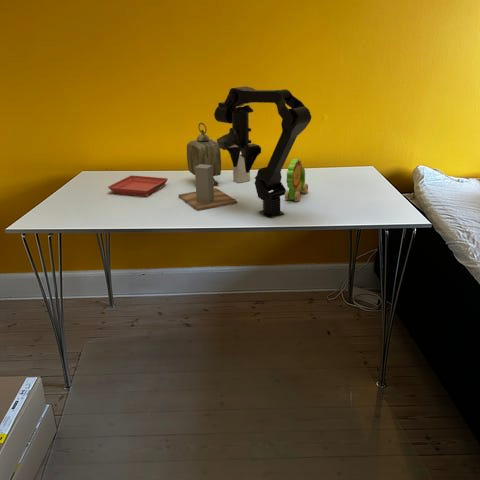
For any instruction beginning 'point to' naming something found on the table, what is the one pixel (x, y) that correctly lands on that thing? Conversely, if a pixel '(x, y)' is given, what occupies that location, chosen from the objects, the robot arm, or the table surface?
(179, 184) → the table surface
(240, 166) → the skincare box
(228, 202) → the walnut board
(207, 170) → the tall taupe box
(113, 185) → the plant saucer
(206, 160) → the tabletop clock
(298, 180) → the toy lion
